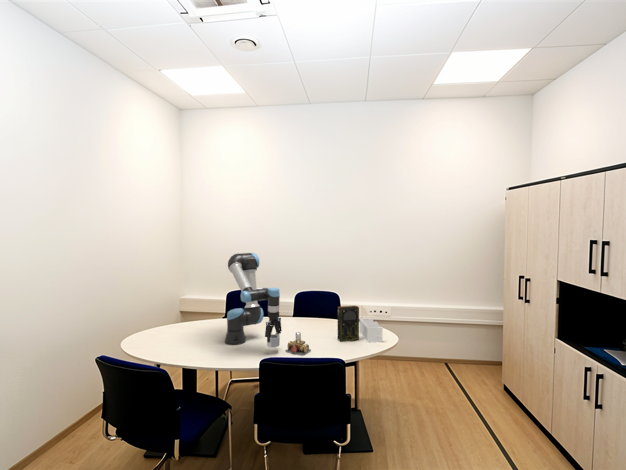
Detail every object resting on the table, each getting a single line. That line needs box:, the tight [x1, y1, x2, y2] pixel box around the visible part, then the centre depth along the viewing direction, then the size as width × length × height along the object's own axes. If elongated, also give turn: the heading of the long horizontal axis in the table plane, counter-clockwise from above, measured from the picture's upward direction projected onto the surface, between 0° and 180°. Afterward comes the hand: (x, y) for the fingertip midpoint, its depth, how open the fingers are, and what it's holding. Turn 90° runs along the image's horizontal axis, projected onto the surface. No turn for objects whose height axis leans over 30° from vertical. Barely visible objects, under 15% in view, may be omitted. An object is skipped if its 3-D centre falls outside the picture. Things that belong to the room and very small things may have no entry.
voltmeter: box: [337, 305, 360, 343], centre depth 258 cm, size 16×9×25 cm, turn 105°
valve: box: [285, 331, 312, 357], centre depth 234 cm, size 14×11×12 cm
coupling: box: [270, 333, 281, 348], centre depth 233 cm, size 8×8×6 cm
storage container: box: [359, 317, 383, 343], centre depth 265 cm, size 25×11×11 cm, turn 6°
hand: (273, 344), depth 233 cm, fingers closed on coupling, 8 cm apart
